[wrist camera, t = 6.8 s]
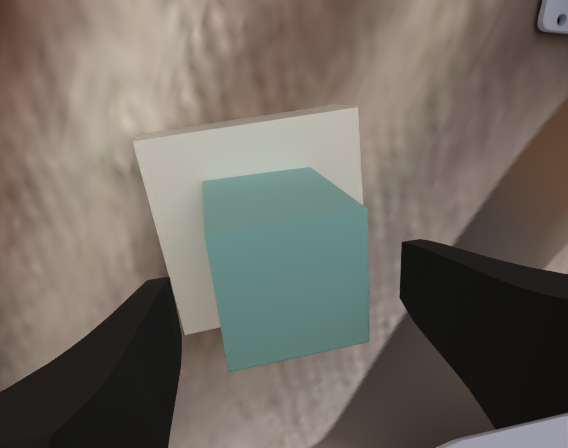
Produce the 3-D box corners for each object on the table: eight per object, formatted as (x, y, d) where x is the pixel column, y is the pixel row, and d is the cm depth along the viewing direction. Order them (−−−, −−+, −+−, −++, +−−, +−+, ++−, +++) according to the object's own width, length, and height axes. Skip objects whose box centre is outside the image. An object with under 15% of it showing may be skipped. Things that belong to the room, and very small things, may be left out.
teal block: (310, 166, 16) (367, 208, 11) (316, 261, 18) (369, 341, 12) (202, 180, 15) (204, 234, 10) (219, 278, 17) (228, 372, 11)
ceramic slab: (335, 103, 18) (357, 107, 16) (347, 268, 22) (367, 295, 19) (144, 132, 17) (132, 141, 14) (188, 301, 20) (184, 334, 18)
